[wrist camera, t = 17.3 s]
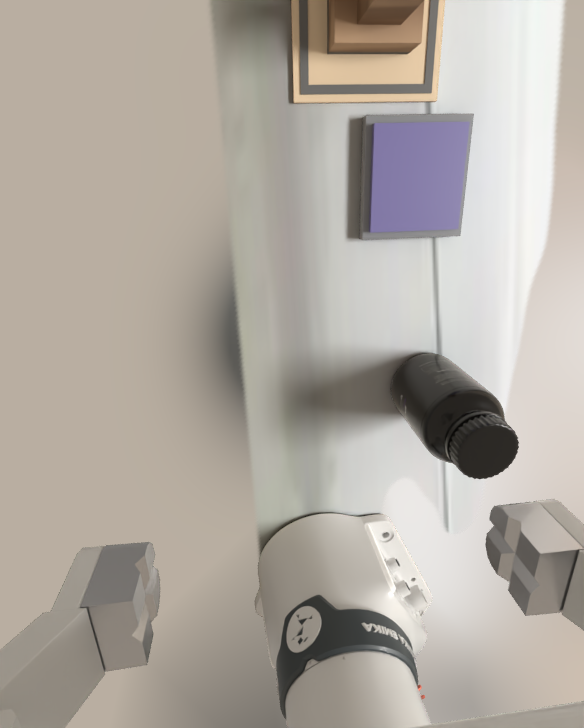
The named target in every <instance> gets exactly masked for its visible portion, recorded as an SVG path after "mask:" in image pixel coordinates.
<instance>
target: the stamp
mask: <svg viewBox="0 0 584 728" xmlns="http://www.w3.org/2000/svg"><path fill="white" fill-rule="evenodd" d="M423 14H424V0H327V54H409V53H410V52H411V51H412V50H414V49H415V48H416V47H417V46H418V45H420V44H421V43H422V29H423Z"/></svg>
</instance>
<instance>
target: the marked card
mask: <svg viewBox="0 0 584 728" xmlns="http://www.w3.org/2000/svg"><path fill="white" fill-rule="evenodd" d="M444 7H445V0H424V14H423V29H422V43H421V44H420V45H418V46H417V47H416V48H415V49H414V50H412V51H411V52H410V53H409V54H327V0H291V16H292V58H293V101H294V103H361V102H436V101H437V93H438V81H439V68H440V56H441V44H442V32H443V20H444Z"/></svg>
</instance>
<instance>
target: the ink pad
mask: <svg viewBox="0 0 584 728" xmlns="http://www.w3.org/2000/svg"><path fill="white" fill-rule="evenodd" d="M473 116H474V114H413V115H366V116H364V117H363V129H362V165H361V200H360V236H359V239H361V240H374V239H398V238H422V237H447V236H460V234H461V225H462V216H463V207H464V198H465V189H466V180H467V171H468V161H469V152H470V143H471V134H472V125H473Z"/></svg>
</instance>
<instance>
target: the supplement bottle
mask: <svg viewBox="0 0 584 728" xmlns="http://www.w3.org/2000/svg"><path fill="white" fill-rule="evenodd" d="M391 396H392V400H393V402H394V404H395V406H396V407H397V409H398V410H399V412H400V413H401V414H402V416H403V417H404V418H405V420H406V421H407V423H408V424H409V425H410V427H411V428H412V429H413V431H414V432H415V433H416V435H417V436H418V438H419V439H420V440H421V442H422V443H423V444H424V446H425V447H426V448H427V450H428V451H429V452H430V453H431V454H432V455H433V456H435V457H436V458H438V459H440V460H442V461H445V462H449V463H453V464H454V465H456V467H457V468H458V469H459V470H460V471H461V472H462V473H463V474H464V475H467V476H468V477H473V478H474V479H476V478H478V479H482V478H484V479H486V478H488V477H493V476H494V475H498V474H499V473H500V472H503V471H504V470H505V469H506V468H508V466H509V465H510V464H511V463H512V461H513V460H514V459H515V456H516V454H517V450H518V448H519V446H518V443H519V442H518V440H517V439H518V437H517V435H516V434H515V431H514V430H513V429H512V428H511V427H510V426H509V425H508V424H507V423H506V421H505V418H504V411H503V408H502V406H501V404H500V402H499V401H498V400H497V398H496V397H495V396H494V395H493V394H492V393H490V392H489V391H488V390H487V389H485V388H484V387H483V386H482V385H480V384H479V383H478V382H477V381H475V380H474V379H473V378H472V377H470V376H469V375H468V374H467V373H465V372H464V371H463V370H462V369H461V368H459V367H458V366H457V365H456V364H454V363H453V362H452V361H450V360H449V359H447V358H446V357H444V356H442V355H439V354H433V353H426V354H421V355H417V356H415V357H413V358H411V359H409V360H407V361H406V362H405V363H404V364H402V365H401V367H400V368H399V369H398V370H397V372H396V373H395V375H394V377H393V380H392V384H391Z"/></svg>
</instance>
